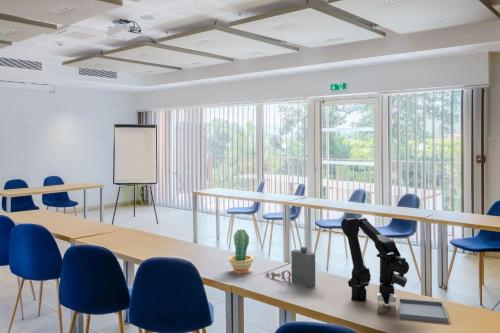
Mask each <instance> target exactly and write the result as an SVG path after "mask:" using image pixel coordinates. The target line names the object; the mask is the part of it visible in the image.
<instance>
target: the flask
mask: <svg viewBox="0 0 500 333" xmlns="http://www.w3.org/2000/svg"><path fill="white" fill-rule="evenodd" d="M290 254H291V262H290V263H291V268H290V269H291V283H292V284H295V285H300V286H302V287H303V286H304V287H306V288H309V289H313V288H315V287H316V253H314V252H312V251H308V247H306V246H301V247H300V248H299V249H293V250H291V252H290Z"/></svg>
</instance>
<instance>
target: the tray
mask: <svg viewBox="0 0 500 333" xmlns="http://www.w3.org/2000/svg"><path fill="white" fill-rule="evenodd" d="M397 302H398V312H399V319H402V320H403V319H405V320H415V321H424V322H435V323H446V324H448V323H449V316H448V313H447V311H446V307H445V305H444V302H443V301H434V300H423V299H411V298H399V297H398V301H397Z"/></svg>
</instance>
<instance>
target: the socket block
mask: <svg viewBox="0 0 500 333" xmlns="http://www.w3.org/2000/svg"><path fill="white" fill-rule="evenodd" d="M376 303H377V309H376V312H377V315H383V316H384V315H387V316H397V304H396V303H397V302H389V307H384V301H377V302H376Z"/></svg>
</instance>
